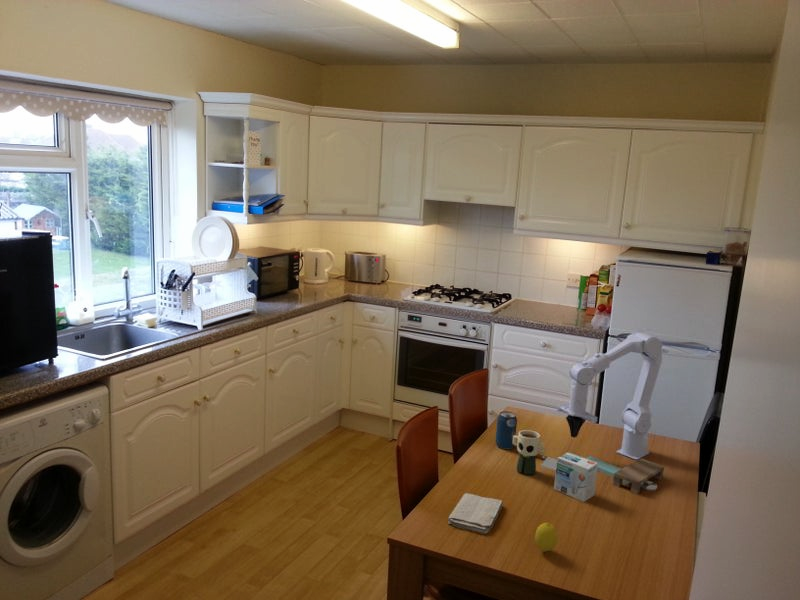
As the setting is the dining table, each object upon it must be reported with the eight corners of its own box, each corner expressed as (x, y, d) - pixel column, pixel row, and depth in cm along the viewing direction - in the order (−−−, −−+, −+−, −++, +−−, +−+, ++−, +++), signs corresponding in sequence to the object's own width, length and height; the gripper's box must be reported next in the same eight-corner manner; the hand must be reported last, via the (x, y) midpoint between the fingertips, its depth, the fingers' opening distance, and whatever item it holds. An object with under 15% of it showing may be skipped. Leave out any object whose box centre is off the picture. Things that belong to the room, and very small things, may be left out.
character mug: (506, 470, 215) (509, 433, 212) (514, 463, 221) (517, 426, 218) (538, 480, 210) (542, 441, 207) (545, 472, 216) (549, 434, 213)
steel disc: (644, 482, 213) (645, 479, 213) (659, 488, 209) (660, 485, 209) (637, 487, 209) (637, 483, 209) (652, 493, 206) (652, 489, 206)
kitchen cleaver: (512, 457, 224) (524, 446, 233) (512, 460, 225) (524, 449, 233) (581, 479, 211) (591, 467, 219) (581, 482, 212) (591, 470, 220)
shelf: (639, 469, 222) (641, 458, 221) (662, 478, 216) (664, 466, 215) (613, 484, 209) (614, 472, 209) (636, 494, 204) (638, 482, 203)
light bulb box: (552, 489, 204) (556, 457, 202) (563, 483, 209) (567, 451, 207) (584, 502, 197) (588, 469, 195) (594, 495, 202) (598, 462, 199)
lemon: (531, 545, 172) (534, 517, 170) (551, 545, 172) (554, 517, 171) (537, 557, 167) (540, 528, 165) (558, 557, 167) (561, 529, 166)
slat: (589, 460, 228) (589, 456, 227) (637, 480, 214) (638, 475, 214) (580, 464, 224) (580, 459, 224) (628, 485, 211) (629, 479, 210)
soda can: (516, 450, 231) (519, 418, 229) (496, 449, 231) (499, 417, 229) (513, 442, 238) (515, 411, 236) (493, 441, 238) (496, 410, 236)
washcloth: (446, 527, 179) (447, 516, 179) (463, 498, 196) (464, 488, 195) (488, 537, 175) (489, 527, 175) (502, 507, 192) (503, 497, 191)
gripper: (553, 395, 227) (549, 432, 230) (591, 407, 217) (586, 446, 220) (564, 391, 232) (560, 427, 235) (602, 403, 222) (597, 441, 224)
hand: (574, 436), depth 227 cm, fingers closed
